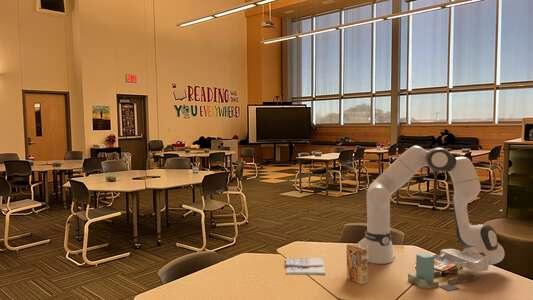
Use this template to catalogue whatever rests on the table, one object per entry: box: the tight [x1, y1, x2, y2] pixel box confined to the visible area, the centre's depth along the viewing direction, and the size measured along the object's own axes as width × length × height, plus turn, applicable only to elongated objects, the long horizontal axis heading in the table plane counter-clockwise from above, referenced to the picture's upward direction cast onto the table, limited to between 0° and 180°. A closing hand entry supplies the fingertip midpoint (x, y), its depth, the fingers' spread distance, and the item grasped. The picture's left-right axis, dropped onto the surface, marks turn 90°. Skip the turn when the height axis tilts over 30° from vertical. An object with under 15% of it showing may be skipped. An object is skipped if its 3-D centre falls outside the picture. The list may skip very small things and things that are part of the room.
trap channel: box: [407, 267, 475, 292], centre depth 178 cm, size 21×26×3 cm
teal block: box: [415, 252, 435, 282], centre depth 175 cm, size 5×5×12 cm
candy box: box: [346, 243, 368, 285], centre depth 178 cm, size 9×4×15 cm, turn 33°
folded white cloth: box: [285, 257, 326, 276], centre depth 197 cm, size 19×20×2 cm
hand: (447, 261), depth 178 cm, fingers open, 8 cm apart
